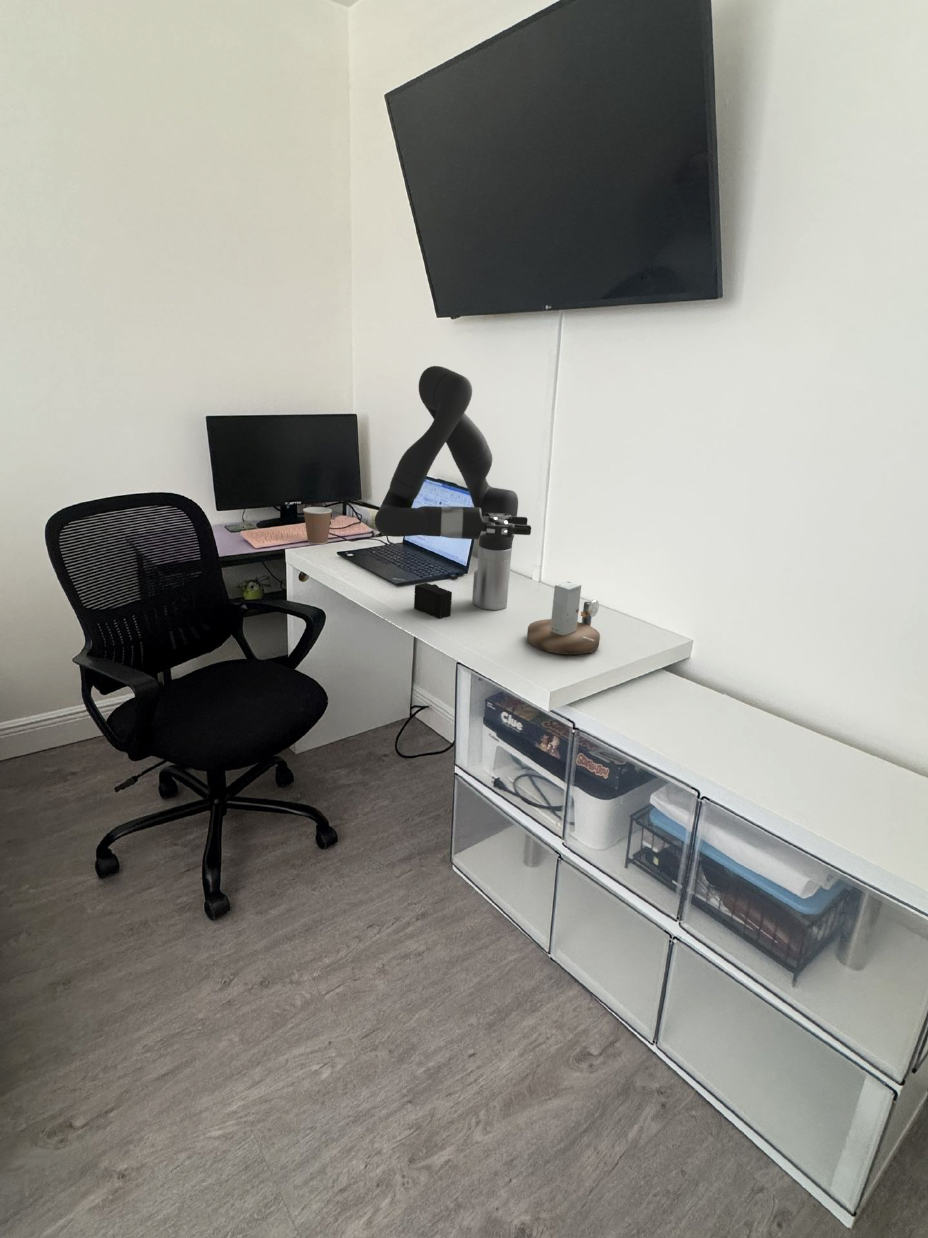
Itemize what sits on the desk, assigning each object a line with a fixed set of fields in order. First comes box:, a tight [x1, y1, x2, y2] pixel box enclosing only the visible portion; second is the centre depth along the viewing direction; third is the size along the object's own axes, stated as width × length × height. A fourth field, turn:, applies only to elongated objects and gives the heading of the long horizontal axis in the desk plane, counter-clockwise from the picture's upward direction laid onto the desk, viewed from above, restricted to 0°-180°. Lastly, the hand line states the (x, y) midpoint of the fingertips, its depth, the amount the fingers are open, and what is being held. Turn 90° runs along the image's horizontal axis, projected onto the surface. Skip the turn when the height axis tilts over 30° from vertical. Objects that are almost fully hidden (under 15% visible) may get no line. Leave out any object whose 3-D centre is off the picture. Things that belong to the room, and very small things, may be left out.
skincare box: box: [550, 581, 582, 636], centre depth 173 cm, size 6×4×12 cm
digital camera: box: [413, 582, 453, 620], centre depth 191 cm, size 10×5×7 cm, turn 46°
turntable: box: [526, 618, 601, 655], centre depth 175 cm, size 18×18×2 cm
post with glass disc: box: [580, 599, 600, 627], centre depth 183 cm, size 5×3×9 cm, turn 141°
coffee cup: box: [302, 506, 333, 545], centre depth 255 cm, size 10×10×12 cm
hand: (528, 525), depth 166 cm, fingers open, 8 cm apart
